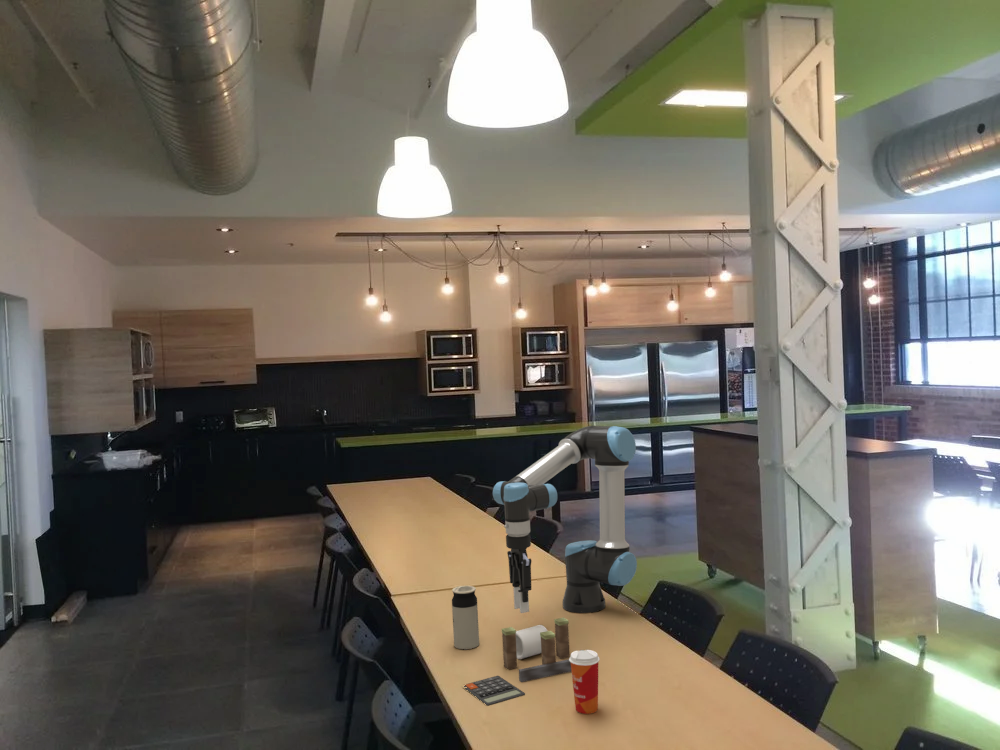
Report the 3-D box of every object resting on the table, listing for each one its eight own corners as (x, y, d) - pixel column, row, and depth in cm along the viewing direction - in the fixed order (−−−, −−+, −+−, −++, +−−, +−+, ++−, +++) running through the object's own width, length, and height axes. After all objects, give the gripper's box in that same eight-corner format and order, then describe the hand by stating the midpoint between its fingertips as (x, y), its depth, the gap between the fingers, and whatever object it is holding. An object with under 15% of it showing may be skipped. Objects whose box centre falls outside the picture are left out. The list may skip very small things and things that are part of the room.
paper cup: (569, 704, 205) (566, 650, 205) (598, 701, 206) (595, 647, 205) (574, 717, 197) (571, 661, 197) (605, 714, 198) (602, 658, 197)
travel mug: (482, 642, 253) (480, 585, 253) (474, 651, 246) (471, 593, 245) (459, 640, 256) (456, 584, 256) (450, 649, 248) (447, 591, 248)
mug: (551, 654, 240) (550, 628, 240) (524, 662, 234) (523, 636, 234) (528, 643, 250) (527, 618, 250) (502, 651, 244) (500, 625, 244)
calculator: (498, 674, 225) (525, 692, 212) (498, 677, 225) (525, 696, 212) (461, 684, 219) (487, 704, 206) (461, 688, 219) (487, 707, 206)
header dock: (565, 653, 240) (563, 617, 240) (585, 668, 228) (584, 630, 227) (503, 666, 232) (501, 628, 232) (520, 682, 220) (519, 642, 220)
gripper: (496, 530, 250) (500, 604, 250) (517, 540, 234) (521, 619, 234) (518, 527, 252) (522, 600, 253) (540, 537, 237) (544, 615, 237)
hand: (521, 609), depth 244 cm, fingers open, 4 cm apart
